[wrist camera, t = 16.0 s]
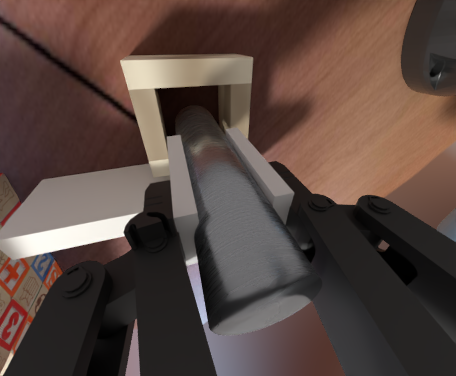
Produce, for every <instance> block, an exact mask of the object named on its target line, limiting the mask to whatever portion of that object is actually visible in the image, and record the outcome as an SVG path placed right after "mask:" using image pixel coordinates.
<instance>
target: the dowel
mask: <svg viewBox="0 0 456 376" xmlns="http://www.w3.org/2000/svg"><path fill="white" fill-rule="evenodd" d="M175 131H176V135H180V136H181V141H182V145H183V150H184V154H185V159H186V163H187V168H188V172H189V177H190V181H191V186H192V190H193V195H194V199H195V204H196V208H197V213H198V219H199V224H198V226H197V228H196V230H195V233H194V242H195V248H196V254H197V260H198V265H199V271H200V277H201V283H202V289H203V295H204V301H205V306H206V312H207V318H208V324H209V328H210V330H211V331H212V332H213V333H215V334H218V335H238V334H244V333H248V332H252V331H256V330H259V329H262V328H265V327H267V326H270V325H272V324H275V323H277V322H279V321H281V320H283V319H285V318H287V317H289V316H291V315H292V314H294V313H296V312H297V311H299V310H300V309H301V308H303V307H304V306H306V305H307V304H308V303H309V302H310V301H312V300H313V299H314V298H315V297H316V296H317V294H318V293H319V291H320V290H321V288H322V280H321V278H320V276H319V275H318V273H317V272H316V270H315V269H314V267H313V266H312V264H311V263H310V261H309V260H308V258H307V257H306V256H305V254H304V253H303V251H302V250H301V248H300V247H299V245H298V244H297V242H296V241H295V239H294V238H293V236H292V235H291V233H290V232H289V230H288V229H287V227H286V226H285V224H284V223H283V221H282V220H281V218H280V217H279V215H278V214H277V212H276V211H275V209H274V208H273V206H272V205H271V203H270V202H269V200H268V199H267V197H266V196H265V194H264V193H263V191H262V190H261V188H260V187H259V185H258V184H257V182H256V181H255V179H254V178H253V176H252V175H251V173H250V172H249V170H248V169H247V167H246V166H245V164H244V163H243V161H242V160H241V158H240V157H239V155H238V154H237V152H236V151H235V149H234V148H233V146H232V145H231V143H230V142H229V140H228V139H227V137H226V136H225V134H224V133H223V131H222V130H221V128H220V127H219V125H218V124H217V122H216V121H215V119H214V118H213V116H212V115H211V113H210V112H209V111H208V110H207V109H205V108H204V107H202V106H198V105H191V106H187V107H185V108H183V109H182V110H181V111H180V112H179V113H178V115H177V117H176V119H175Z"/></svg>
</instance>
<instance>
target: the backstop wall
mask: <svg viewBox="0 0 456 376" xmlns="http://www.w3.org/2000/svg"><path fill="white" fill-rule="evenodd" d="M167 180H170V175H168V176H161V177H155V178H154V177H153V174H152V170H151V167H150V163H149V164H143V165H136V166H129V167H123V168H116V169H109V170H103V171H96V172H89V173H83V174H76V175H69V176H63V177H56V178H49V179H43V180H42V181H41V182H40V183H39V184H38V185H37V187H36V188H35V189H34V190H33V191H32V193H31V194H30V195H29V196H28V197H27V199H26V200H25V201H24V202H23V203H22V205H21V206H20V207H19V208H18V209H17V211H16V212H15V213H14V214H13V215H12V217H11V218H10V219H9V220H8V221H7V223H6V224H5V225H4V226H3V227H2V229H1V230H0V250H1V251H2V252H3V253H5V254H6V255H7V256H8V257H10V258H11V259H12V260H16V259H20V258H25V257H30V256H34V255H39V254H44V253H48V252H53V251H58V250H62V249H67V248H71V247H76V246H81V245H85V244H90V243H95V242H99V241H104V240H109V239H113V238H118V237H123V236H125V235H124V229H125V226H126V224H127V223H128V222H129V220H130V219H131V218H133V217H134V216H135V215H137V214H138V213H141V212H143V207H144V196H145V190H146V189H147V187H148V186H149V184H150V183H155V182H161V181H167Z"/></svg>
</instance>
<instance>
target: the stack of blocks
mask: <svg viewBox="0 0 456 376" xmlns="http://www.w3.org/2000/svg"><path fill="white" fill-rule="evenodd" d="M21 205H22V204H21V202H20V201H19V198H18V196H17V195H16V193H15V191H14V189H13V188H12V186H11V184H10V183H9V181H8V179H7V178H6V176H5V175H4V174H3V173H0V230H1V229H2V227H3V226H4V225H5V224H6V223H7V221H8V220H9V219H10V218H11V217H12V215H13V214H14V213H15V212H16V211H17V209H18V208H19V207H20V206H21ZM61 274H63V273H62V271H61V269H60V267H59V265H58V264H57V262H56V260H54V259H53V257H52V255H51V253H50V252H48V253H44V254H39V255H34V256H30V257H25V258H20V259H16V260H12V259H11V258H10V257H8V256H7V255H6V254H5V253H3V252H2V251H1V250H0V376H3V374H4V372H5V370H6V369H7V367H8V365H9V363H10V361H11V359H12V358H13V356H14V354H15V352H16V350H17V348H18V346H19V345H20V343H21V341H22V339H23V337H24V335H25V333H26V332H27V330H28V328H29V326H30V324H31V322H32V320H33V319H34V317H35V315H36V313H37V311H38V309H39V307H40V306H41V304H42V302H43V300H44V298H45V296H46V294H47V293H48V291H49V289H50V287H51V286H52V285H53V283H54V282H55V280H56V279H57V278H58V277H59V276H60V275H61Z"/></svg>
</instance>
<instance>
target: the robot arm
mask: <svg viewBox="0 0 456 376" xmlns="http://www.w3.org/2000/svg"><path fill="white" fill-rule="evenodd" d="M401 68H402V74H403V78H404V80H405V82H406V84H407V85H408V86H409V87H410V88H411V89H412V90H414V91H416V92H420V93H425V94H430V95H435V96H456V0H417V2H416V4H415V7H414V9H413V12H412V14H411V17H410V20H409V23H408V26H407V29H406V33H405V37H404V41H403V47H402V55H401ZM225 131H226V137H227V139H228V140H229V142H230V143H231V145H232V146H233V148H234V149H235V151H236V152H237V154H238V155H239V157H240V158H241V160H242V161H243V163H244V164H245V166H246V167H247V169H248V170H249V172H250V173H251V175H252V176H253V178H254V179H255V181H256V182H257V184H258V185H259V187H260V188H261V190H262V191H263V193H264V194H265V196H266V197H267V199H268V200H269V202H270V203H271V205H272V206H273V208H274V209H275V211H276V212H277V214H278V215H279V217H280V218H281V220H282V221H283V223H284V224H285V226H286V227H287V229H288V230H289V232H290V233H291V235H292V236H293V238H294V239H295V241H296V242H297V244H298V245H299V247H300V248H301V250H302V251H303V253H304V254H305V256H306V257H307V258H308V260H309V261H310V263H311V264H312V266H313V267H314V269H315V270H316V272H317V273H318V275H319V276H320V278H321V280H322V288H321V290H320V291H319V293H318V294H317V296H316V297H315V298H314V299H313V300H312V301H313V304H314V306H315V308H316V310H317V312H318V315H319V317H320V319H321V321H322V323H323V326H324V328H325V330H326V332H327V335H328V337H329V339H330V341H331V343H332V346H333V348H334V350H335V353H336V355H337V357H338V359H339V362H340V364H341V366H342V368H343V370H344V373H345V375H346V376H456V208H455V209H454V210H453V211H452V212H451V213H450V214H449V215H448V216H447V217H446V218H445V219H444V220H443V221H442V222H441V223H440V224H439V226H438V228H437V230H436V229H434V228H432V227H431V226H429V225H428V224H426V223H424V222H423V221H421V220H420V219H418V218H416V217H414V216H413V215H412V214H410V213H408V212H407V211H405V210H404V209H402V208H400V207H399V206H397V205H396V204H394V203H392V202H391V201H389V200H387V199H385V198H382V197H379V196H374V195H365V196H362V197H360V198H359V199H358V201H357V203H356V205H339V204H336V203H335V202H334V201H333V200H331V199H330V198H328V197H326V196H324V195H320V194H312V193H311V192H310V191H309V190H308V189H307V188H306V187H305V186H304V185H303V184H302V183H301V182H300V181H299V180H298V179H297V178H296V177H295V176H294V175H293V174H292V173H291V172H290V171H289V170H288V169H287V168H286V167H285V166H284V165H283V164H281V163H279V162H277V161H274V162H267V161H266V160H265V159H264V157H263V156H262V155H261V154H260V153H259V152H258V151H257V149H256V148H255V147H254V146H253V145H252V144H251V143H250V141H249V140H248V139H247V138H246V137H245V136H244V135H243V133H242V132H241V131H240V130H239V129H238V128H231V129H225ZM167 146H168V158H169V170H170V180H167V181H161V182H155V183H150V184H149V186H148V187H147V189H146V190H145V196H144V207H143V212H141V213H138V214H137V215H135V216H134V217H133V218H131V219H130V220H129V222H128V223H127V224H126V226H125V229H124V235H125V237H126V239H127V240H128V242H129V244H130V246H131V248H132V249H131V250H130V251H129V252H127V253H126V254H124V255H123V256H121V257H119V258H117V259H115V260H113V261H111V262H109V263H107V264H105V265H103V264H101V263H99V262H97V261H86V262H82V263H79V264H76V265H75V266H73V267H71V268H69V269H68V270H66V271H65V272H64V273H63V274H61V275H60V276H59V277H58V278H57V279H56V280H55V282H54V283H53V285H52V286H51V287H50V289H49V291H48V293H47V294H46V296H45V298H44V300H43V302H42V304H41V306H40V307H39V309H38V311H37V313H36V315H35V317H34V319H33V320H32V322H31V324H30V326H29V328H28V330H27V332H26V333H25V335H24V337H23V339H22V341H21V343H20V345H19V346H18V348H17V350H16V352H15V354H14V356H13V358H12V359H11V361H10V363H9V365H8V367H7V369H6V370H5V372H4V374H3V376H125V372H126V368H127V362H128V356H129V350H130V345H131V340H132V334H133V328H134V323H135V319H137V326H138V342H139V343H138V344H139V359H140V360H139V361H140V376H217V374H216V370H215V367H214V363H213V360H212V356H211V353H210V349H209V346H208V342H207V339H206V335H205V332H204V328H203V325H202V321H201V318H200V314H199V311H198V307H197V304H196V300H195V297H194V293H193V290H192V286H191V283H190V279H189V276H188V272H187V266H186V265H190V264H194V263H198V260H197V254H196V248H195V242H194V233H195V230H196V228H197V226H198V224H199V219H198V213H197V208H196V204H195V199H194V195H193V190H192V186H191V181H190V177H189V172H188V168H187V163H186V159H185V154H184V150H183V145H182V141H181V136H180V135H176V136H168V137H167ZM382 240H384V241H385V242H386V243H388V244H389V245H390V246H389V247H388V248H387V249H386V250H382V249H380V248H378V246H379V245H380V243H381V242H382Z"/></svg>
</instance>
